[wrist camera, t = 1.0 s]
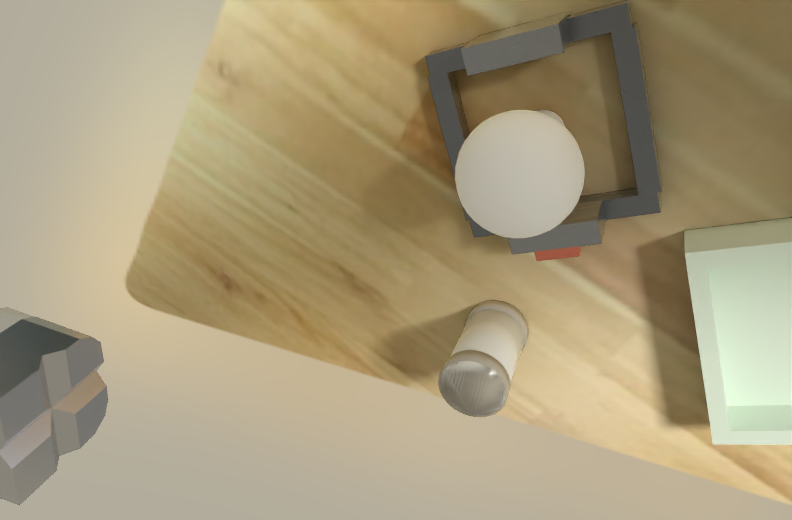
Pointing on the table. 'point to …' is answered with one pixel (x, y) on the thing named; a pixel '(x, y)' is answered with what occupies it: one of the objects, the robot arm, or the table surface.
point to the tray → (744, 328)
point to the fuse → (484, 359)
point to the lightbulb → (520, 173)
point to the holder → (543, 42)
